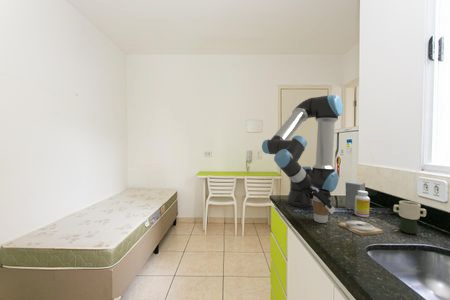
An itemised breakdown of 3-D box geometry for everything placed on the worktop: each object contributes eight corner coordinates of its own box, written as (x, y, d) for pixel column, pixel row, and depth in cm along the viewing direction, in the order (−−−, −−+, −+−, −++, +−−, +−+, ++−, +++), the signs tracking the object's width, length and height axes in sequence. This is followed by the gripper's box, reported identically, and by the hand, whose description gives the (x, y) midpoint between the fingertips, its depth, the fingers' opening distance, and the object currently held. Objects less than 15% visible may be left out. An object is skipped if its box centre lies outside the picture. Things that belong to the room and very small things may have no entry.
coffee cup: (329, 219, 108) (331, 189, 107) (330, 225, 100) (331, 193, 100) (311, 216, 112) (312, 187, 111) (310, 222, 104) (311, 191, 103)
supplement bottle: (371, 218, 112) (372, 193, 111) (357, 216, 113) (358, 192, 113) (365, 213, 118) (366, 190, 118) (352, 212, 120) (353, 189, 119)
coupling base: (338, 225, 102) (338, 221, 102) (358, 222, 105) (358, 218, 105) (361, 236, 90) (361, 231, 90) (382, 233, 94) (383, 228, 93)
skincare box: (365, 210, 124) (366, 182, 124) (359, 212, 120) (360, 184, 120) (350, 206, 131) (351, 180, 131) (344, 208, 127) (345, 181, 127)
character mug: (423, 232, 95) (425, 203, 94) (426, 238, 89) (428, 207, 88) (391, 226, 101) (393, 198, 100) (392, 231, 95) (394, 202, 95)
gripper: (282, 179, 111) (308, 208, 116) (308, 188, 91) (338, 222, 96) (291, 168, 112) (317, 197, 117) (319, 175, 92) (348, 209, 98)
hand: (326, 208), depth 107 cm, fingers closed on coffee cup, 8 cm apart
